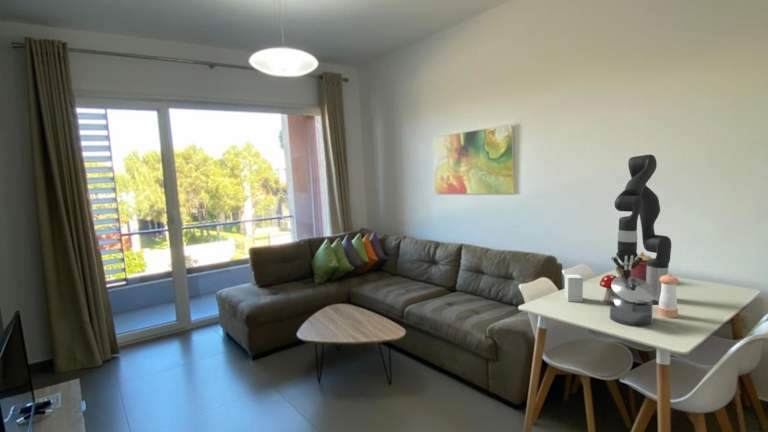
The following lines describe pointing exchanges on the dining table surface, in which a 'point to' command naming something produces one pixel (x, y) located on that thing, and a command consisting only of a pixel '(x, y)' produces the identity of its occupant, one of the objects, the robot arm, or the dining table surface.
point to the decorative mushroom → (607, 286)
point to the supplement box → (574, 288)
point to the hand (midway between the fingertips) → (626, 277)
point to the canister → (641, 267)
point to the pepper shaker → (668, 297)
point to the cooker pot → (630, 312)
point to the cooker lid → (632, 289)
